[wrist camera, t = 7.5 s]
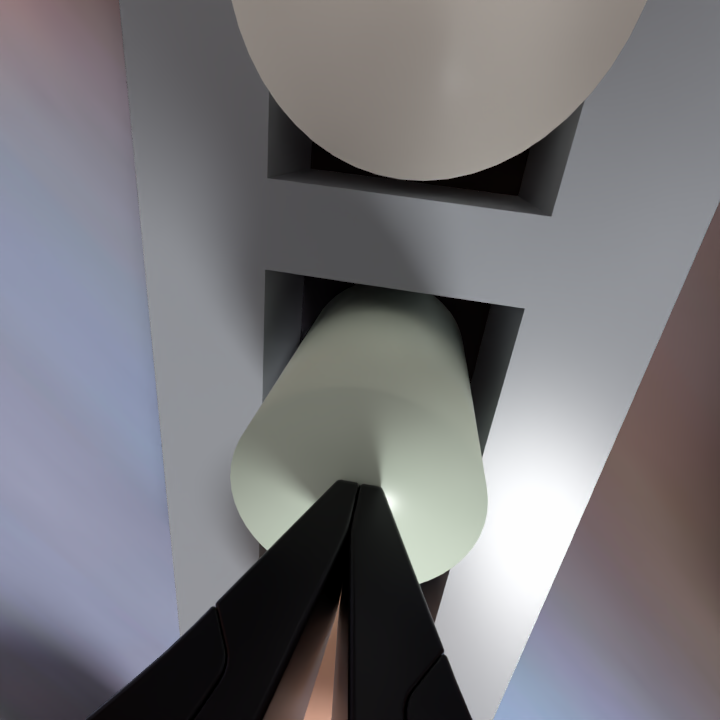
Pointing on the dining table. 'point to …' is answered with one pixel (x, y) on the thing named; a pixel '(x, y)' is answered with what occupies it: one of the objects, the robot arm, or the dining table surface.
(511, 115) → the cream rounded tapered piece
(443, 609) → the grey holder tray
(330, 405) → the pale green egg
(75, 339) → the dining table surface
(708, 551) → the dining table surface
